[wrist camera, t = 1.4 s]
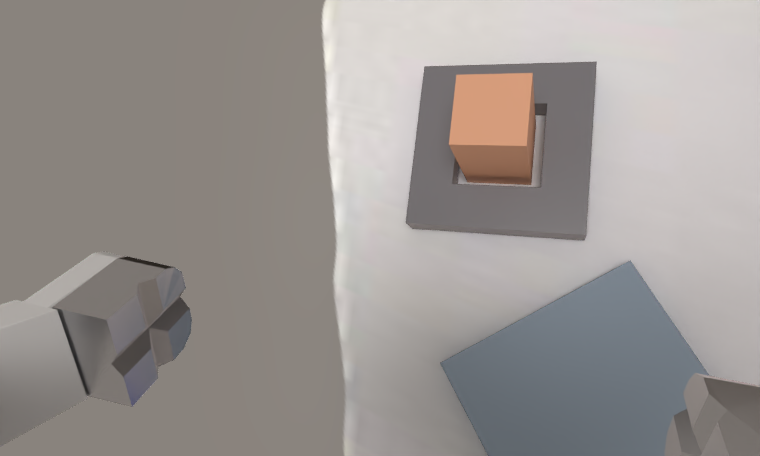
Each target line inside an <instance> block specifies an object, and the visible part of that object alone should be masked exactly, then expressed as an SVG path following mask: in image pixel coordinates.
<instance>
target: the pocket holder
mask: <svg viewBox="0 0 760 456" xmlns="http://www.w3.org/2000/svg"><path fill="white" fill-rule="evenodd" d="M596 64H597V62H569V63H533V64H497V65H462V66H426V67H424V76H423V84H422V92H421V101H420V109H419V117H418V126H417V134H416V142H415V151H414V159H413V167H412V176H411V184H410V192H409V201H408V209H407V217H406V223H407V224H408V225H409V226H410V227H411V228H412V229H426V230H441V231H455V232H470V233H484V234H499V235H513V236H528V237H542V238H557V239H571V240H585V237H586V228H587V212H588V195H589V179H590V162H591V146H592V130H593V113H594V97H595V80H596ZM508 73H533V87H534V103H535V115H546V127H545V140H544V153H543V166H542V179H541V188H539V187H514V186H490V185H466V184H457V182H458V173H459V164H458V162H457V160H456V158H455V156H454V154H453V152H452V150H451V148H450V146H449V138H450V129H451V120H452V111H453V101H454V92H455V83H456V75H464V74H508Z"/></svg>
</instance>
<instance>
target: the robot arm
mask: <svg viewBox="0 0 760 456" xmlns="http://www.w3.org/2000/svg"><path fill="white" fill-rule="evenodd" d="M185 288H186V287H185V283H184V279H183V274H182V272H181V271H179V270H178V269H176V268H175V267H171V266H167V265H163V264H158V263H154V262H149V261H145V260H141V259H137V258H132V257H128V256H127V257H125V256H121V255H117V254H113V253H108V252H98V253H93V254H91V255H90V256H89V257H87V258H86V259H84V260H83V261H81V262H80V263H78V264H77V265H76V266H74V267H73V268H71V269H70V270H68V271H67V272H65V273H64V274H62V275H61V276H60V277H58V278H57V279H55V280H54V281H52V282H51V283H49V284H48V285H47V286H45V287H44V288H42V289H41V290H39V291H38V292H36V293H35V294H34V295H32V296H31V297H29V298H28V299H26V300H25V301H24V302H22V301H18V300H14V301H11V302H8V303H4V304H1V305H0V447H1V446H3V445H4V444H6V443H8V442H10V441H11V440H13V439H15V438H17V437H19V436H21V435H23V434H24V433H26V432H28V431H30V430H32V429H33V428H35V427H37V426H39V425H41V424H42V423H44V422H46V421H48V420H50V419H52V418H53V417H55V416H57V415H59V414H61V413H63V412H64V411H66V410H68V409H70V408H71V407H73V406H75V405H77V404H79V403H81V402H83V401H84V400H86V399H87V398H88V397H87V396H90V397H94V398H98V399H102V400H106V401H110V402H114V403H118V404H123V405H127V406H131V407H132V406H133V405H134V404H135V403H136V402H137V401H138V400H139V398H140V397H141V396H142V395H143V394H144V393H145V392H146V391H147V390H148V388H149V387H150V386H151V385H152V384H153V383H154V382H155V381H156V380H157V378H158V367H159V366H161V365H164V364H166V363H168V362H170V361H173V360H174V359H175V358H176V357H177V356H178V355H179V353H180V352H181V351H182V350H183V349H184V347H185V344H186V342H187V340H188V337H189V335H190V332H191V321H192V319H191V313H190V308H189V307H188V306H187V304H186V303H185V302H184V301H183V299H182V298H181V297H180V296H181V294H182V293H183V291H184V290H185ZM683 395H684V399H685V403H686V407H687V409H685V410H683V411H681V412H679V413H678V414H676V415H674V416H673V419H672V421H671V424H670V427H669V429H668V432H667V438H666V445H665V456H760V386H759V385H754V384H749V383H744V382H739V381H734V380H729V379H724V378H719V377H714V376H708V375H703V374H698V373H695V374H694V375H693V376H692V377H691V378H690V379H689V381H688V383H687V385H686V388H685V390H684V392H683Z"/></svg>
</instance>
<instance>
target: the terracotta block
mask: <svg viewBox="0 0 760 456" xmlns="http://www.w3.org/2000/svg"><path fill="white" fill-rule="evenodd" d="M535 129H536V119H535V103H534V87H533V73H508V74H464V75H456V83H455V92H454V101H453V111H452V120H451V129H450V138H449V146H450V148H451V150H452V152H453V154H454V156H455V158H456V160H457V162H458V164H459V166H460V168H461V170H462V172H463V174H464V176H465V178H466V180H467V182H473V183H498V184H523V185H531V180H532V167H533V154H534V142H535Z"/></svg>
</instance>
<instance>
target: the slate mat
mask: <svg viewBox="0 0 760 456" xmlns="http://www.w3.org/2000/svg"><path fill="white" fill-rule="evenodd" d="M440 364H441V366H442V367H443V369H444V371H445V373H446V375H447V377H448V379H449V381H450V383H451V385H452V387H453V389H454V391H455V393H456V394H457V396H458V398H459V400H460V402H461V404H462V406H463V408H464V410H465V412H466V414H467V416H468V418H469V419H470V421H471V423H472V425H473V427H474V429H475V431H476V433H477V435H478V437H479V439H480V441H481V443H482V445H483V446H484V448H485V450H486V452H487V454H488V456H665V445H666V438H667V432H668V429H669V427H670V424H671V421H672V419H673V416H674V415H676V414H678V413H679V412H681V411H683V410H685V409H687V407H686V403H685V399H684V395H683V392H684V390H685V388H686V385H687V383H688V381H689V379H690V378H691V377H692V376H693V375H694V374H695V373H698V374H703V375H708V376H709V374H708V373H707V372H706V370H705V369H704V367H703V366H702V364H701V363H700V361H699V360H698V358H697V357H696V356H695V354H694V353H693V351H692V350H691V348H690V347H689V345H688V344H687V342H686V341H685V340H684V338H683V337H682V335H681V334H680V332H679V331H678V329H677V328H676V326H675V325H674V324H673V322H672V321H671V319H670V318H669V316H668V315H667V313H666V312H665V310H664V309H663V308H662V306H661V305H660V303H659V302H658V300H657V299H656V297H655V296H654V294H653V293H652V292H651V290H650V289H649V287H648V286H647V284H646V283H645V281H644V280H643V278H642V277H641V276H640V274H639V273H638V271H637V270H636V268H635V267H634V265H633V264H632V262H631V261H629V262H627V263H625V264H623V265H621V266H619V267H617V268H616V269H614V270H612V271H610V272H608V273H606V274H604V275H603V276H601V277H599V278H597V279H595V280H593V281H591V282H590V283H588V284H586V285H584V286H582V287H580V288H578V289H577V290H575V291H573V292H571V293H569V294H567V295H565V296H564V297H562V298H560V299H558V300H556V301H554V302H552V303H551V304H549V305H547V306H545V307H543V308H541V309H539V310H538V311H536V312H534V313H532V314H530V315H528V316H527V317H525V318H523V319H521V320H519V321H517V322H515V323H514V324H512V325H510V326H508V327H506V328H504V329H502V330H501V331H499V332H497V333H495V334H493V335H491V336H489V337H488V338H486V339H484V340H482V341H480V342H478V343H476V344H475V345H473V346H471V347H469V348H467V349H465V350H463V351H462V352H460V353H458V354H456V355H454V356H452V357H450V358H449V359H447V360H445V361H443V362H441V363H440Z"/></svg>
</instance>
